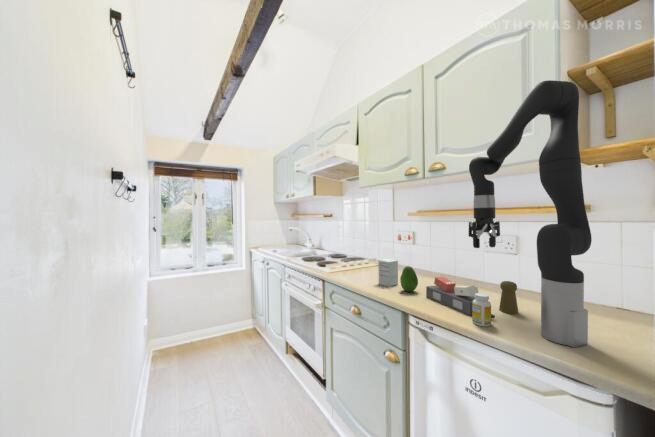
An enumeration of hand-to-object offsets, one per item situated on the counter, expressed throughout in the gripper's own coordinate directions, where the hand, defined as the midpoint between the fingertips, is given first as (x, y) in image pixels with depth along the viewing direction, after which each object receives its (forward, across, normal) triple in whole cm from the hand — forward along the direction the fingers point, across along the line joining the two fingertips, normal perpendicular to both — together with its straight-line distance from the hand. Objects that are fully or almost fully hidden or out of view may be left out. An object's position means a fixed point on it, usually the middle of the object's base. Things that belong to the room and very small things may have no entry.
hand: (484, 247), depth 107 cm
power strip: (+23, -12, +1) cm, 26 cm away
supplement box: (+23, -19, +40) cm, 50 cm away
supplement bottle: (+23, -18, -14) cm, 32 cm away
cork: (+23, +1, -9) cm, 25 cm away
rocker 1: (+17, -12, +10) cm, 23 cm away
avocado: (+23, -18, +25) cm, 38 cm away
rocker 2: (+17, -12, -2) cm, 21 cm away
